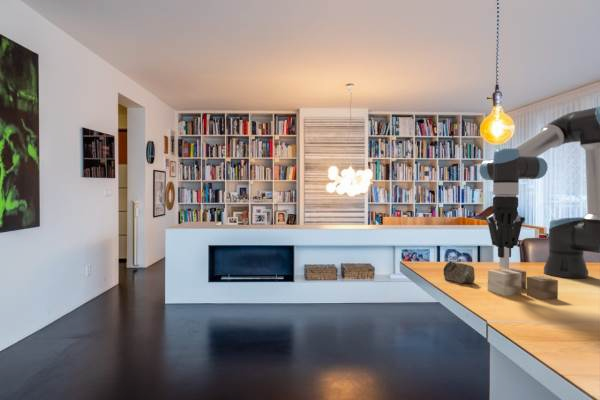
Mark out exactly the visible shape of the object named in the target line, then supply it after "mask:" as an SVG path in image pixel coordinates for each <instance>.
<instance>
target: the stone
mask: <svg viewBox="0 0 600 400" xmlns="http://www.w3.org/2000/svg"><path fill="white" fill-rule="evenodd" d="M443 276H444V277H443V278H444V279H445V280H448V281H450V282H455V283H459V284H465V283H468V284H473V283H474V282H475V279H476V277H475V276H476V275H475V269H474V266H473V265H470V264H466V263H462V262H456V261H453V260H450V261H449V262H447V263H446V264H445V266H444V268H443Z"/></svg>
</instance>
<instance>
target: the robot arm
mask: <svg viewBox="0 0 600 400" xmlns="http://www.w3.org/2000/svg"><path fill="white" fill-rule="evenodd" d="M576 142H577V143H579V144H580V145H579V146H580V147H581V148H582V149H584V150H585V172H586V173H585V177H586V178H585V181H586V207H587V208H586V209H587V211H586V212H587V213H586V214H584V216H583V217H581V216H579V217H577V216H576V217H561V218H558V217H557V218H552V219H551V220H550V221H549V225H548V226H549V228H548V255H547V258H546V261H545V264H544V266H543V273H544V274H545V275H549V276H553V277H558V278H559V277H560V278H569V279H584V278H585V279H587V278H589V270H588V269H587V265H586V261H585V258H584V252H590V253H596V254H600V106H596V107H592V108H587V109H582V110H577V111H571V112H569V113H567V114H564V115H561V116H560V117H557V118H556V119H554V120H552V121H551V122H549V123H548V124H545V125H544V126H542V127H541V128H540V131H539V132H537V133H536V134H534V135H533V136H530V137H529V138H527V139H526V140H524V141H522V142H521V143H519V144H517V145H516V146H514V147H512V148H499V149H496V150H494V152H493V159H488V160H487V159H486V160H484V161H482V162H481V163H480V166H479V169H478V170H479V174H480V176H481V178H482V179H483V180H486V181H492V182H493V183H492V194H493V195H494V196H493V197H492V207H493V210H492V212H491V215H489V216H485V219H484V220H485V221H486V223H487V225H488V230H489V235H490V239H491V245H492V246H495V247H497V256H498V258H499V268H501V269H508V268H510V258H511V257H512V249H514V248H515V247H516V246H518V242H519V240H520V234H521V230H522V225H523V223H524V221H525V220H526V218H525V217H523V216H521V215H520V214H519V211H518V208H519V197H518V195H519V193H520V192H519V187H520V184H519V183H520V182H519V180H528V179H529V180H537V179H538V180H539V179H542V178H543V177H544V176H545V175H546V174H547V172H548V163H547V162H546V160H545V159H544V158H542V157H539V156H541V155H543V154H544V153H545V152H547V151H549V150H550V149H552V148H558V147H560V146H561V145H563V144H564V145H565V144H568V143H576Z"/></svg>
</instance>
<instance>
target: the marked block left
mask: <svg viewBox="0 0 600 400" xmlns="http://www.w3.org/2000/svg"><path fill="white" fill-rule="evenodd" d="M558 284H559V281H558V279H555V278H551V277H547V276H544V275H542V276H538V275H537V276H536V275H535V276H526V290H525V291H526V296H528V297H531V298H534V299H536V300H539V301H543V300H545V301H546V300H547V301H549V300H551V301H552V300H558V297H559V293H558V292H559V291H558V290H559V289H558V288H559V285H558Z"/></svg>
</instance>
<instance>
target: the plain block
mask: <svg viewBox="0 0 600 400" xmlns="http://www.w3.org/2000/svg"><path fill="white" fill-rule="evenodd" d="M506 269H507V268H498V269H488V270H487V291H488V292H490V293H493V294H498V295H500V296H503V297H506V296H515V295H516V296H517V295H522V289H521V280H522V273H519V272H515V271H510V270H506Z"/></svg>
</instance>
